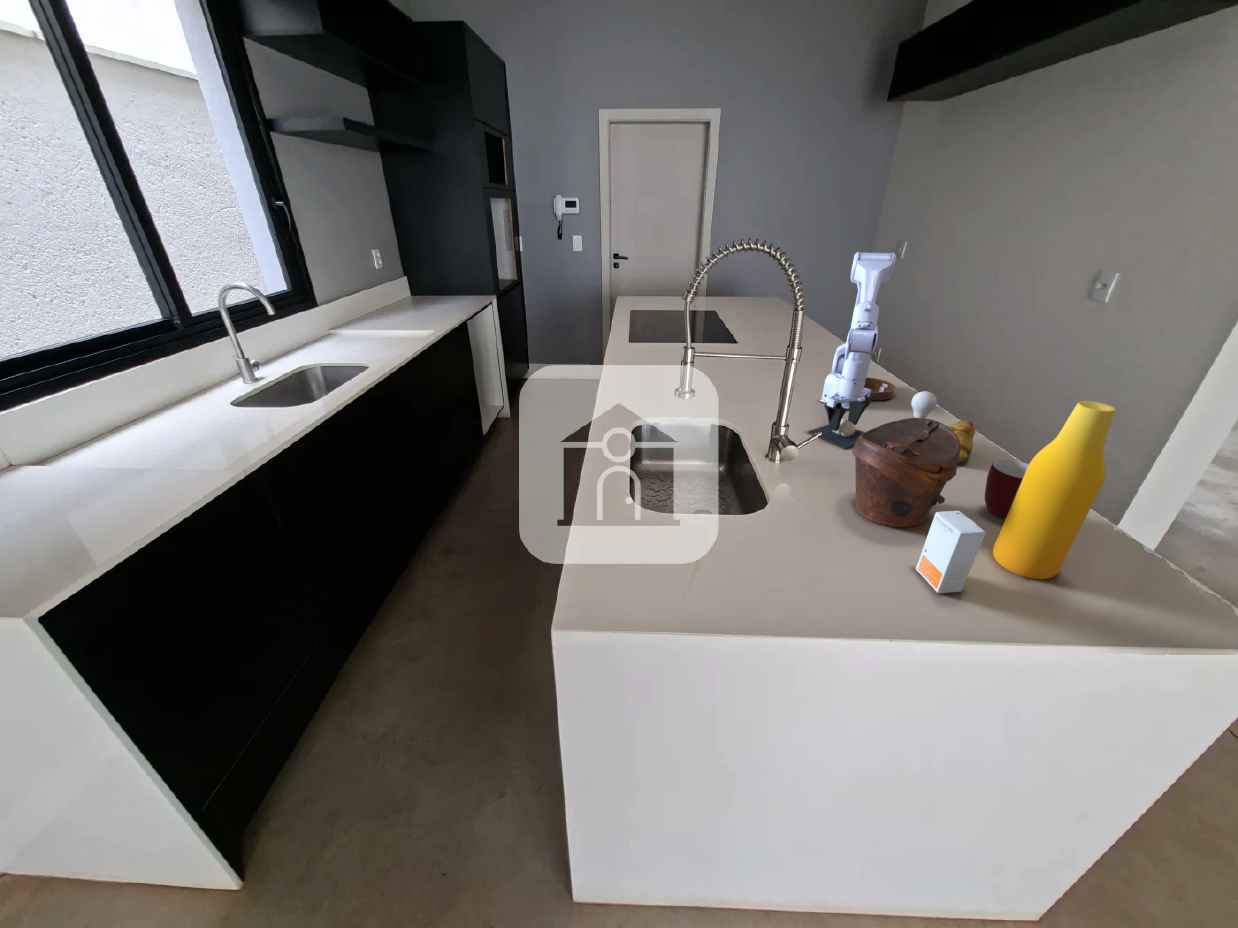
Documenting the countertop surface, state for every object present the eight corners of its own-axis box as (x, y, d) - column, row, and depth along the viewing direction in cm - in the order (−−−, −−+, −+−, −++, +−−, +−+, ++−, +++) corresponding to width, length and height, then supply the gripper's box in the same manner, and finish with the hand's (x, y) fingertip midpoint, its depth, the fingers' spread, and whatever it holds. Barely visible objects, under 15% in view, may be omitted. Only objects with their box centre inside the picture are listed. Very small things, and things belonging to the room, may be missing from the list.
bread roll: (970, 470, 115) (982, 439, 111) (923, 461, 119) (932, 431, 115) (967, 448, 125) (977, 419, 121) (923, 441, 129) (931, 412, 125)
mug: (1039, 513, 99) (1059, 470, 94) (1040, 533, 93) (1061, 487, 88) (976, 497, 104) (993, 455, 100) (973, 515, 99) (991, 471, 94)
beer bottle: (1040, 550, 89) (1113, 397, 75) (1068, 584, 81) (1157, 420, 67) (982, 543, 91) (1043, 393, 77) (1004, 576, 83) (1077, 415, 69)
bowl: (832, 390, 163) (833, 382, 162) (861, 382, 170) (863, 374, 169) (873, 405, 152) (875, 395, 150) (903, 395, 159) (906, 386, 157)
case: (840, 529, 95) (860, 445, 87) (840, 480, 111) (857, 406, 103) (946, 549, 89) (979, 461, 81) (930, 495, 105) (956, 417, 97)
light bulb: (923, 422, 140) (933, 388, 135) (933, 430, 135) (943, 396, 130) (901, 421, 140) (910, 388, 136) (910, 430, 135) (920, 395, 130)
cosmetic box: (914, 569, 84) (934, 511, 79) (937, 568, 85) (959, 509, 79) (937, 594, 79) (960, 533, 73) (962, 592, 79) (987, 531, 74)
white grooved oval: (826, 432, 134) (828, 418, 132) (836, 427, 136) (838, 414, 133) (847, 441, 129) (849, 426, 127) (857, 436, 131) (860, 422, 128)
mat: (807, 432, 134) (807, 431, 134) (836, 423, 140) (837, 422, 140) (845, 449, 125) (845, 447, 125) (875, 438, 131) (875, 437, 130)
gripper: (848, 387, 119) (837, 438, 125) (885, 376, 125) (873, 426, 132) (824, 379, 124) (814, 428, 130) (861, 369, 131) (850, 417, 137)
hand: (842, 426), depth 131 cm, fingers open, 7 cm apart
